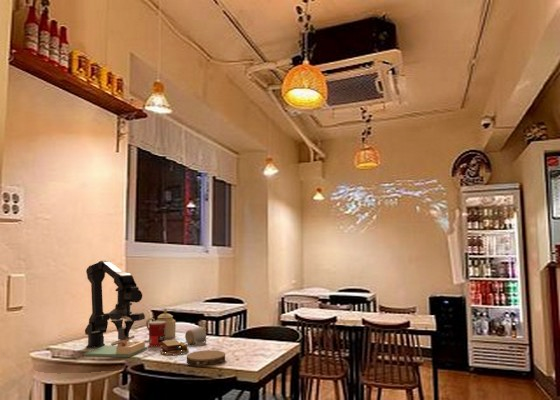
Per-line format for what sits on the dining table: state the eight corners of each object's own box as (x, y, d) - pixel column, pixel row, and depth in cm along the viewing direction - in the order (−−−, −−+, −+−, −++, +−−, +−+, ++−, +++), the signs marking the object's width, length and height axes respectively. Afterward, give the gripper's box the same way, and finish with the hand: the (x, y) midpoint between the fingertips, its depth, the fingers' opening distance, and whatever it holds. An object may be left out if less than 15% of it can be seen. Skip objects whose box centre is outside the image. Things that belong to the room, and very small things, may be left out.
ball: (130, 340, 204) (132, 350, 203) (135, 338, 208) (137, 348, 207) (122, 342, 204) (124, 352, 204) (127, 340, 209) (129, 350, 208)
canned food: (161, 346, 217) (161, 323, 219) (145, 346, 219) (146, 323, 220) (168, 343, 225) (168, 320, 226) (153, 342, 227) (153, 320, 228)
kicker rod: (109, 353, 198) (109, 330, 199) (130, 345, 215) (130, 324, 216) (115, 353, 198) (115, 331, 199) (136, 345, 214) (136, 324, 215)
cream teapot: (160, 341, 231) (160, 311, 232) (144, 339, 236) (145, 310, 238) (179, 335, 244) (179, 307, 246) (164, 334, 249) (164, 306, 251)
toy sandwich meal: (164, 357, 196) (164, 346, 197) (157, 351, 208) (157, 341, 208) (192, 353, 202) (192, 343, 203) (183, 348, 214) (183, 338, 215)
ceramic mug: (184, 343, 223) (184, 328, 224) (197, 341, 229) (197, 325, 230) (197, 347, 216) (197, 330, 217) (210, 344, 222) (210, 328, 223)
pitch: (84, 355, 202) (84, 346, 202) (105, 347, 217) (105, 339, 218) (128, 357, 197) (128, 347, 197) (146, 349, 212) (146, 340, 213)
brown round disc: (233, 361, 188) (233, 353, 189) (203, 369, 176) (203, 361, 177) (208, 355, 199) (208, 348, 199) (179, 362, 187) (179, 355, 187)
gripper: (95, 303, 203) (94, 338, 201) (132, 303, 199) (132, 339, 197) (110, 300, 214) (109, 333, 212) (145, 300, 210) (145, 334, 208)
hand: (123, 335), depth 207 cm, fingers closed on kicker rod, 3 cm apart
